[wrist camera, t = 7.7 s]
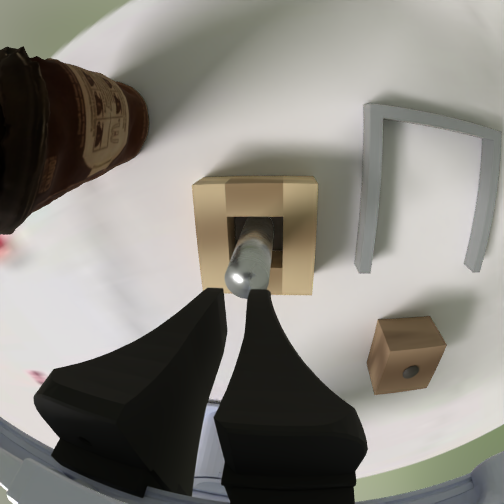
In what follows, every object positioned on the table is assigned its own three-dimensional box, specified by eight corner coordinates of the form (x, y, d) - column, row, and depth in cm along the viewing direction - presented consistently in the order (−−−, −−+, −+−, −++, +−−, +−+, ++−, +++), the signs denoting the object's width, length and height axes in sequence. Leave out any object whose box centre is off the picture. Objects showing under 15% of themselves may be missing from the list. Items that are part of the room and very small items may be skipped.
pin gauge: (275, 241, 20) (270, 298, 13) (245, 242, 20) (227, 299, 14) (273, 212, 19) (267, 258, 13) (242, 214, 19) (221, 260, 13)
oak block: (309, 275, 20) (312, 295, 18) (211, 273, 21) (203, 292, 19) (313, 176, 18) (318, 184, 15) (203, 177, 18) (191, 185, 16)
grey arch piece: (470, 263, 19) (479, 272, 17) (354, 263, 20) (358, 273, 18) (489, 130, 14) (501, 131, 13) (363, 104, 15) (370, 103, 14)
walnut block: (414, 357, 23) (426, 388, 19) (366, 361, 24) (374, 395, 20) (429, 315, 21) (447, 345, 17) (377, 318, 22) (390, 352, 18)
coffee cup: (138, 43, 15) (-9, -6, 3) (189, 139, 18) (40, 173, 6) (56, 114, 17) (-82, 139, 5) (97, 200, 20) (-36, 280, 8)
